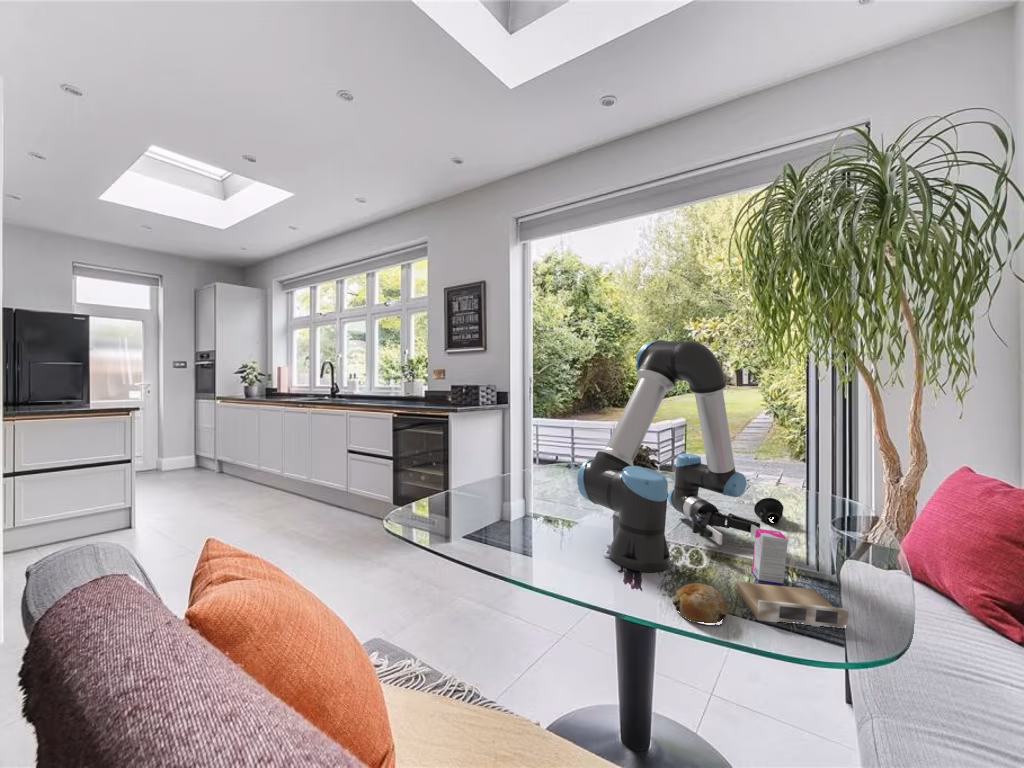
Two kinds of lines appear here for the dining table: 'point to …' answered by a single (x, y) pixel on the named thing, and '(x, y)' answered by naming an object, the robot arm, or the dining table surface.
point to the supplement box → (769, 556)
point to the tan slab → (790, 605)
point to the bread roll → (700, 603)
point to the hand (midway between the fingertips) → (744, 539)
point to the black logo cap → (769, 509)
